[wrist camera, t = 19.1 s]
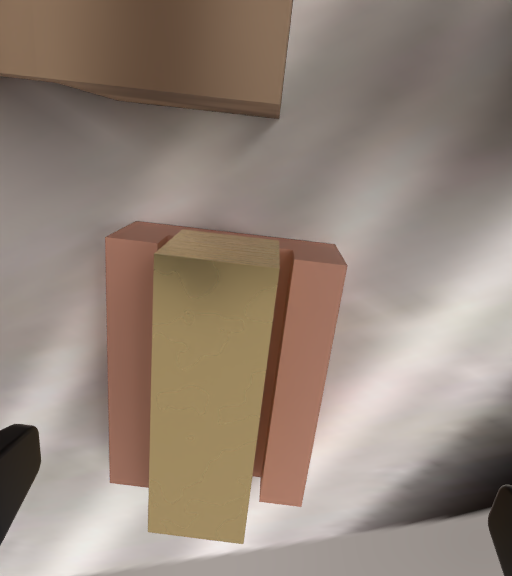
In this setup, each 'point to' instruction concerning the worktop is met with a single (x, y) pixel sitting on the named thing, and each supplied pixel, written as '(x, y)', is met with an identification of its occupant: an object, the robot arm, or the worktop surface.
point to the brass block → (208, 380)
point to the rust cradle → (280, 365)
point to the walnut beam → (154, 50)
